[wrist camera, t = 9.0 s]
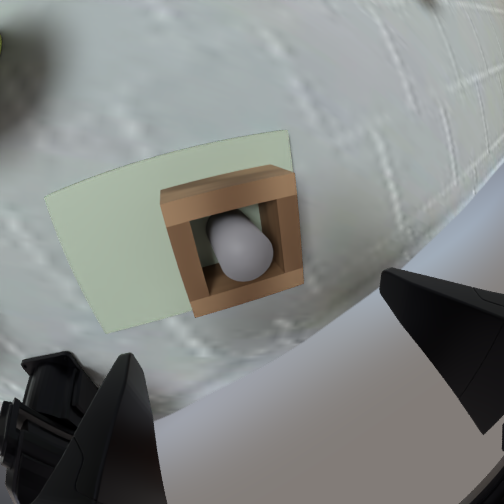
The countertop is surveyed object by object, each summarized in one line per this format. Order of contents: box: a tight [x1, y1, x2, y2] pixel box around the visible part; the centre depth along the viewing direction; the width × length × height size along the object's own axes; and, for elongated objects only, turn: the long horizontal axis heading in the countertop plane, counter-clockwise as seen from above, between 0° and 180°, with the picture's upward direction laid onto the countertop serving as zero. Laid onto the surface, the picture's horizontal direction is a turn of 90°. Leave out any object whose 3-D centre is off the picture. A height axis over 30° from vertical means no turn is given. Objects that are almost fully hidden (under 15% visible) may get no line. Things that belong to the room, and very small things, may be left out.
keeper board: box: [44, 130, 293, 334], centre depth 16 cm, size 16×11×5 cm
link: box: [160, 164, 304, 318], centre depth 16 cm, size 7×7×4 cm
